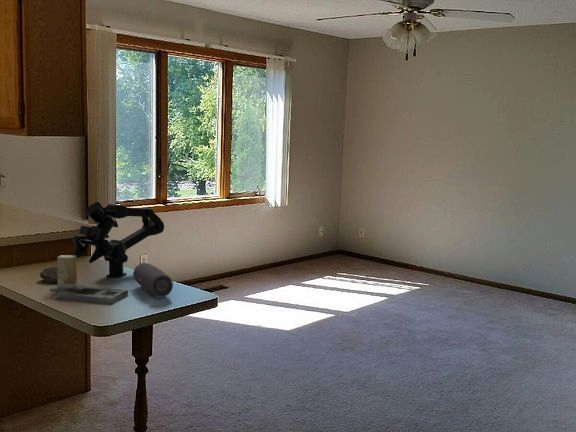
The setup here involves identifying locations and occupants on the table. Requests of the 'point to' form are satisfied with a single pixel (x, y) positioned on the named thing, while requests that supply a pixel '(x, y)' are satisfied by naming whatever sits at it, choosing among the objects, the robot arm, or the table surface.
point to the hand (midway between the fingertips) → (81, 261)
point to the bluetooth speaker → (153, 280)
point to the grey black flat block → (98, 294)
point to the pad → (61, 288)
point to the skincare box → (66, 271)
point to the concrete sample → (49, 274)
